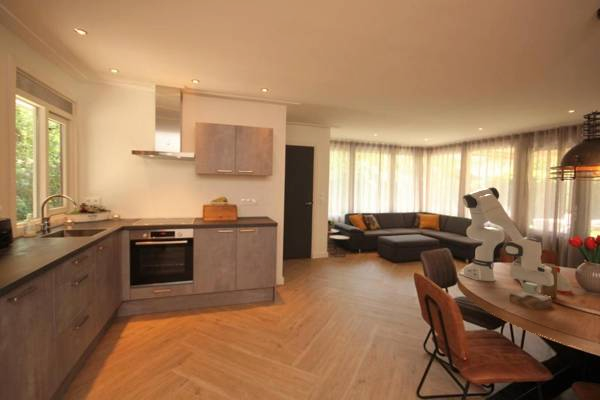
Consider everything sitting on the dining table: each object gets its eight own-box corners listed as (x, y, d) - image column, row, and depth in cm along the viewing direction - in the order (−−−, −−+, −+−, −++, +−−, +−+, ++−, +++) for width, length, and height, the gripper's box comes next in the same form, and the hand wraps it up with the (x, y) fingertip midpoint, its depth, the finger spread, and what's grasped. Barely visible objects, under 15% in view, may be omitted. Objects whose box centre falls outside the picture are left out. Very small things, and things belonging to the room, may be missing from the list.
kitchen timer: (574, 291, 178) (575, 268, 178) (566, 295, 172) (567, 271, 171) (547, 284, 190) (548, 263, 190) (538, 288, 184) (539, 266, 183)
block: (557, 299, 164) (558, 267, 163) (540, 296, 169) (541, 265, 168) (555, 294, 173) (556, 263, 172) (539, 291, 177) (540, 261, 176)
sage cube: (522, 291, 160) (523, 283, 160) (526, 290, 162) (527, 282, 162) (533, 294, 156) (533, 286, 156) (537, 293, 158) (537, 284, 158)
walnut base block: (509, 301, 163) (509, 293, 163) (523, 297, 168) (523, 289, 168) (537, 311, 150) (537, 302, 150) (551, 306, 156) (551, 298, 155)
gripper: (507, 262, 166) (507, 284, 167) (550, 270, 148) (549, 295, 149) (512, 260, 169) (512, 282, 170) (555, 269, 151) (554, 293, 152)
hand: (530, 288), depth 159 cm, fingers closed on sage cube, 5 cm apart
